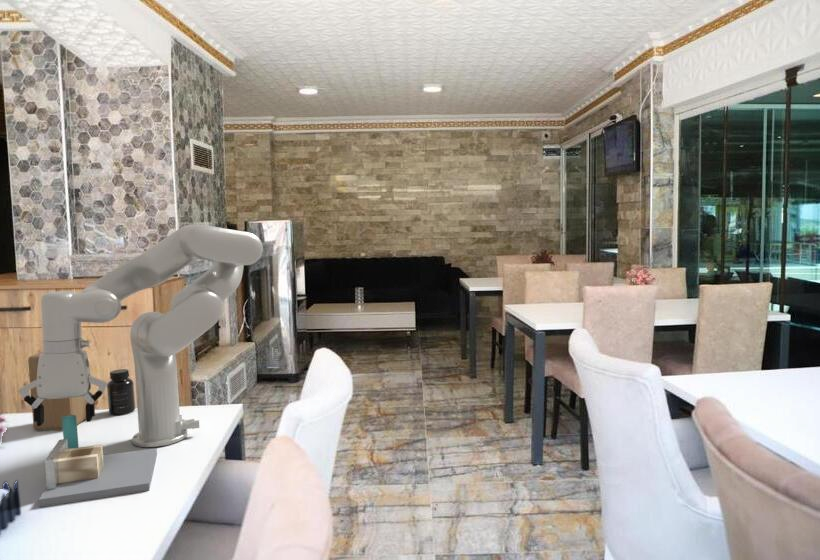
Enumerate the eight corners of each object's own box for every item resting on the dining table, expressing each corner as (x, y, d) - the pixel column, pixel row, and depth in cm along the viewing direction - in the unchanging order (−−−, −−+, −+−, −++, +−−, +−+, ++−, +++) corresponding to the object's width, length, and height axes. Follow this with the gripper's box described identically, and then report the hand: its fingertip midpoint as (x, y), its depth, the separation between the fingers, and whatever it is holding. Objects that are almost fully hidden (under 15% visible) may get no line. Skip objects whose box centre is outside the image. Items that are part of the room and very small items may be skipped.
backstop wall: (69, 465, 126) (67, 438, 126) (56, 488, 115) (53, 459, 115) (61, 466, 126) (59, 439, 125) (47, 490, 115) (44, 460, 114)
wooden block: (52, 419, 163) (46, 348, 161) (89, 418, 164) (84, 347, 162) (32, 432, 153) (26, 356, 151) (72, 430, 154) (66, 355, 152)
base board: (157, 454, 136) (156, 448, 136) (149, 490, 117) (148, 483, 117) (63, 467, 130) (63, 460, 130) (39, 507, 111) (38, 499, 111)
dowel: (80, 456, 136) (77, 414, 135) (78, 461, 133) (74, 418, 132) (67, 458, 135) (63, 415, 134) (64, 463, 132) (60, 419, 131)
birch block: (103, 464, 126) (102, 444, 126) (98, 477, 120) (96, 456, 119) (66, 469, 124) (65, 449, 124) (58, 483, 117) (57, 461, 117)
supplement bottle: (109, 410, 170) (106, 369, 169) (135, 407, 173) (133, 367, 172) (108, 417, 164) (105, 375, 163) (134, 413, 167) (132, 372, 166)
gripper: (108, 342, 138) (110, 414, 139) (22, 346, 132) (25, 421, 133) (103, 347, 131) (105, 423, 132) (12, 352, 125) (15, 431, 126)
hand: (65, 422), depth 132 cm, fingers open, 9 cm apart
